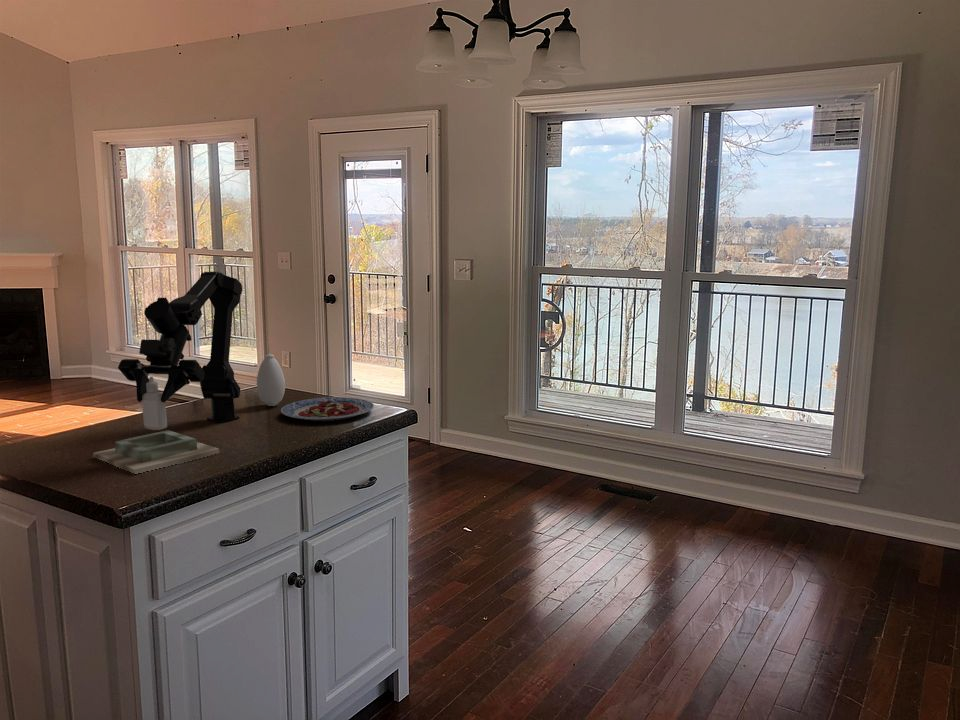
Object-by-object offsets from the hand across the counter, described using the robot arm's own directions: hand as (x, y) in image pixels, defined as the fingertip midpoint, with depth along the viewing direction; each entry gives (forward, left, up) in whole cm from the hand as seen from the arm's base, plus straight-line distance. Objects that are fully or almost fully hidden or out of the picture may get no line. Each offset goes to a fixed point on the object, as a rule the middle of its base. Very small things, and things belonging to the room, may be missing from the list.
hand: (150, 401), depth 174 cm
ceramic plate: (-2, +52, -14) cm, 54 cm away
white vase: (-23, +48, -13) cm, 55 cm away
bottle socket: (-1, +1, -13) cm, 13 cm away
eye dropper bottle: (-1, +1, -7) cm, 7 cm away
